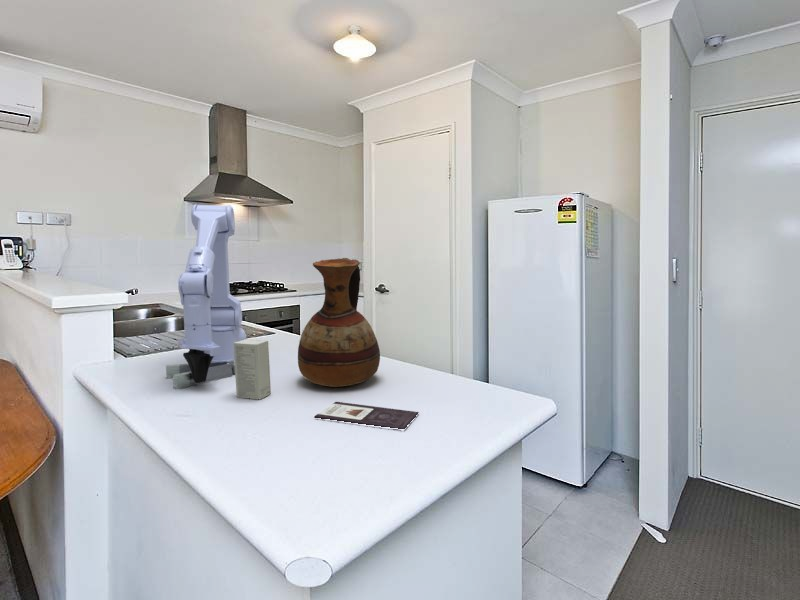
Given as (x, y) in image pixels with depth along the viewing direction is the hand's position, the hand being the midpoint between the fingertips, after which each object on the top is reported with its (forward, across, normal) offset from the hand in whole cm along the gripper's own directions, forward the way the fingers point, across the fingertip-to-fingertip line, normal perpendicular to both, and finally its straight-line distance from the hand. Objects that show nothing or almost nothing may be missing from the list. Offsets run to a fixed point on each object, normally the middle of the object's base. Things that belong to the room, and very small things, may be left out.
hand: (200, 381), depth 109 cm
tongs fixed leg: (+1, -7, +6) cm, 9 cm away
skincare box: (+1, +16, +3) cm, 16 cm away
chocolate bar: (+2, +44, +9) cm, 45 cm away
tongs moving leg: (+1, -3, +2) cm, 4 cm away
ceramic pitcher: (+1, +22, +23) cm, 32 cm away
